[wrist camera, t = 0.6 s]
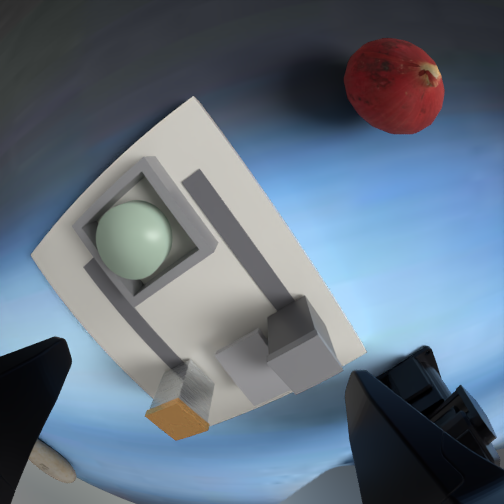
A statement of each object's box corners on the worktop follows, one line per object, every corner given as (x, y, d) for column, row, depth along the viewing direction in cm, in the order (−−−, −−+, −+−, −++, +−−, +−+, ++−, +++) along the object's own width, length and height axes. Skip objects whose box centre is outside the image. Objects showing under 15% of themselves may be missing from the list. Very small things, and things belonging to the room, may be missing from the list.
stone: (14, 428, 28) (66, 486, 26) (36, 418, 34) (85, 469, 33) (7, 443, 27) (56, 497, 26) (28, 433, 34) (74, 482, 32)
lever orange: (216, 383, 22) (208, 430, 18) (187, 396, 23) (175, 440, 18) (190, 358, 22) (176, 403, 17) (162, 372, 22) (144, 416, 17)
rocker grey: (297, 380, 20) (297, 386, 19) (255, 400, 21) (254, 406, 20) (259, 327, 20) (257, 332, 19) (217, 350, 20) (214, 355, 20)
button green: (187, 244, 17) (180, 253, 16) (136, 281, 18) (127, 292, 17) (143, 185, 16) (132, 188, 15) (96, 227, 17) (83, 234, 16)
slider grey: (327, 325, 20) (343, 370, 16) (289, 347, 21) (295, 394, 16) (305, 293, 20) (318, 334, 15) (265, 317, 20) (266, 362, 15)
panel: (361, 341, 23) (374, 367, 19) (195, 421, 26) (189, 447, 23) (198, 100, 17) (185, 89, 14) (40, 249, 21) (15, 263, 18)
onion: (323, 120, 18) (363, 98, 10) (340, 46, 16) (382, -4, 8) (399, 148, 18) (469, 150, 10) (414, 78, 16) (480, 52, 9)
